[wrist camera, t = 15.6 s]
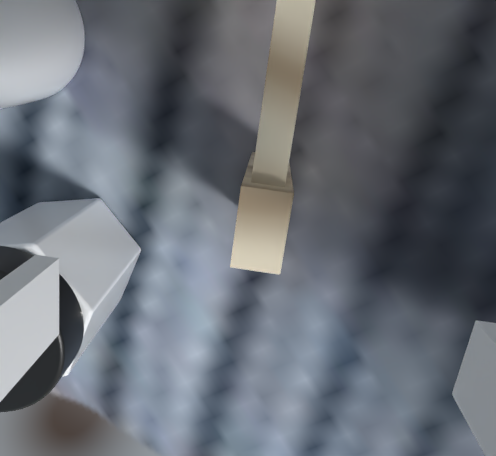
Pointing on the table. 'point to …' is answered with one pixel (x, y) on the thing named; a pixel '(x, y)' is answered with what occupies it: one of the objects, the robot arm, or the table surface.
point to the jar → (68, 280)
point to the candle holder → (38, 48)
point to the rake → (273, 146)
